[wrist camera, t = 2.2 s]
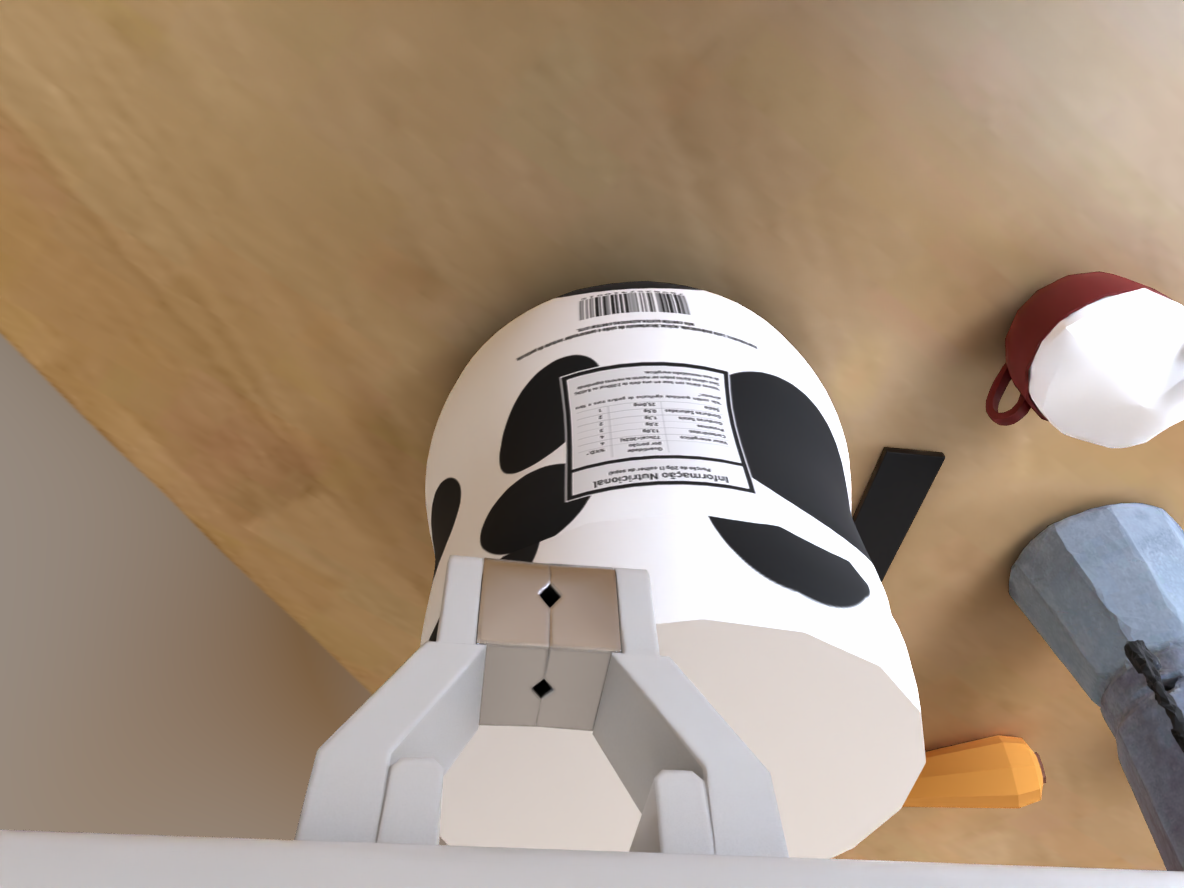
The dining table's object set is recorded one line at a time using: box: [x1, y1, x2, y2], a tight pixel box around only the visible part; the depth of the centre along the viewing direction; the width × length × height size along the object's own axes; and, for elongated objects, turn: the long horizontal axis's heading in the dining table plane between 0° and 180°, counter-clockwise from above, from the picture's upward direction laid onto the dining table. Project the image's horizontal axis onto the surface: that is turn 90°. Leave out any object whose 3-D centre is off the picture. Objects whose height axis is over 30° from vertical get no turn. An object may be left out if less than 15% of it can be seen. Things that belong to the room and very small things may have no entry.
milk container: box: [420, 281, 926, 859], centre depth 32 cm, size 17×17×18 cm
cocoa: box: [986, 272, 1184, 448], centre depth 31 cm, size 10×6×12 cm, turn 111°
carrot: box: [902, 735, 1046, 808], centre depth 57 cm, size 20×4×4 cm, turn 109°
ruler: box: [853, 447, 945, 582], centre depth 48 cm, size 26×3×1 cm, turn 172°
